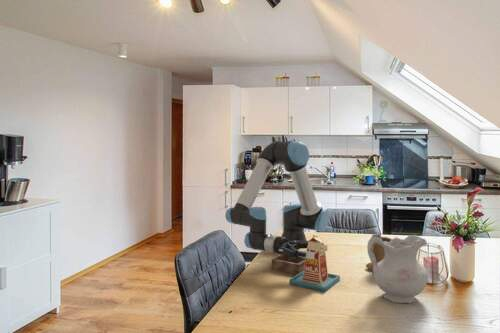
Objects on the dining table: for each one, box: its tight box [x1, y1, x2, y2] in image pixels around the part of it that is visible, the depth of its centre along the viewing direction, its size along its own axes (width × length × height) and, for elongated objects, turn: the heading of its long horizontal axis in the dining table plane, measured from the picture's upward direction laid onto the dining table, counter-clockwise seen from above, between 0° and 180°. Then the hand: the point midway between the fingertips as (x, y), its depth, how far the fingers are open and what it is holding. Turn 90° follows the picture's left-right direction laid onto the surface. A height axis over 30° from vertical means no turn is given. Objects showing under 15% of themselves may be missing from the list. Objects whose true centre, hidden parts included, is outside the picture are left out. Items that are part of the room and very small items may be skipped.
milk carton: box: [302, 234, 329, 285], centre depth 172 cm, size 9×9×20 cm
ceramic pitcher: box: [367, 233, 429, 304], centre depth 155 cm, size 22×20×25 cm
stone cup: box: [365, 236, 393, 271], centre depth 188 cm, size 15×12×15 cm
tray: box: [288, 271, 341, 293], centre depth 173 cm, size 16×16×2 cm
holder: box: [270, 254, 306, 275], centre depth 192 cm, size 14×14×4 cm
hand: (320, 251), depth 171 cm, fingers open, 13 cm apart
